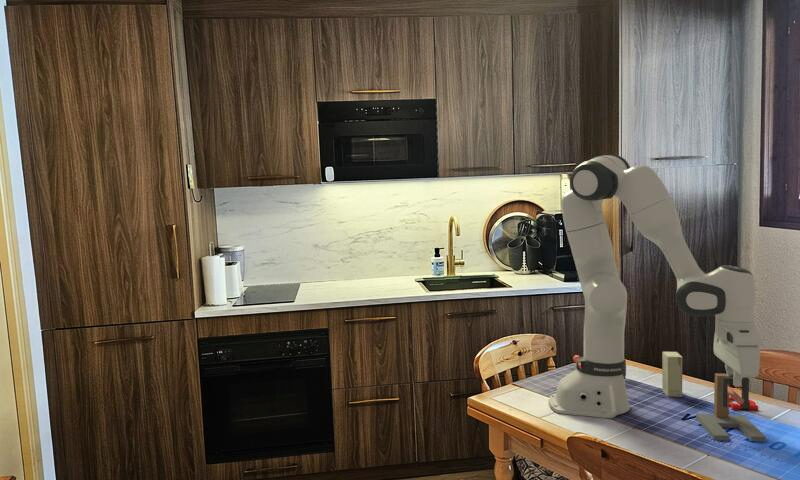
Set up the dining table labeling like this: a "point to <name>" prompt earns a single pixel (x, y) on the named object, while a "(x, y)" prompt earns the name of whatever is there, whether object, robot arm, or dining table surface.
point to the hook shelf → (727, 417)
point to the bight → (724, 390)
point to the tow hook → (739, 407)
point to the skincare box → (672, 374)
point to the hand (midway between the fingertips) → (734, 383)
